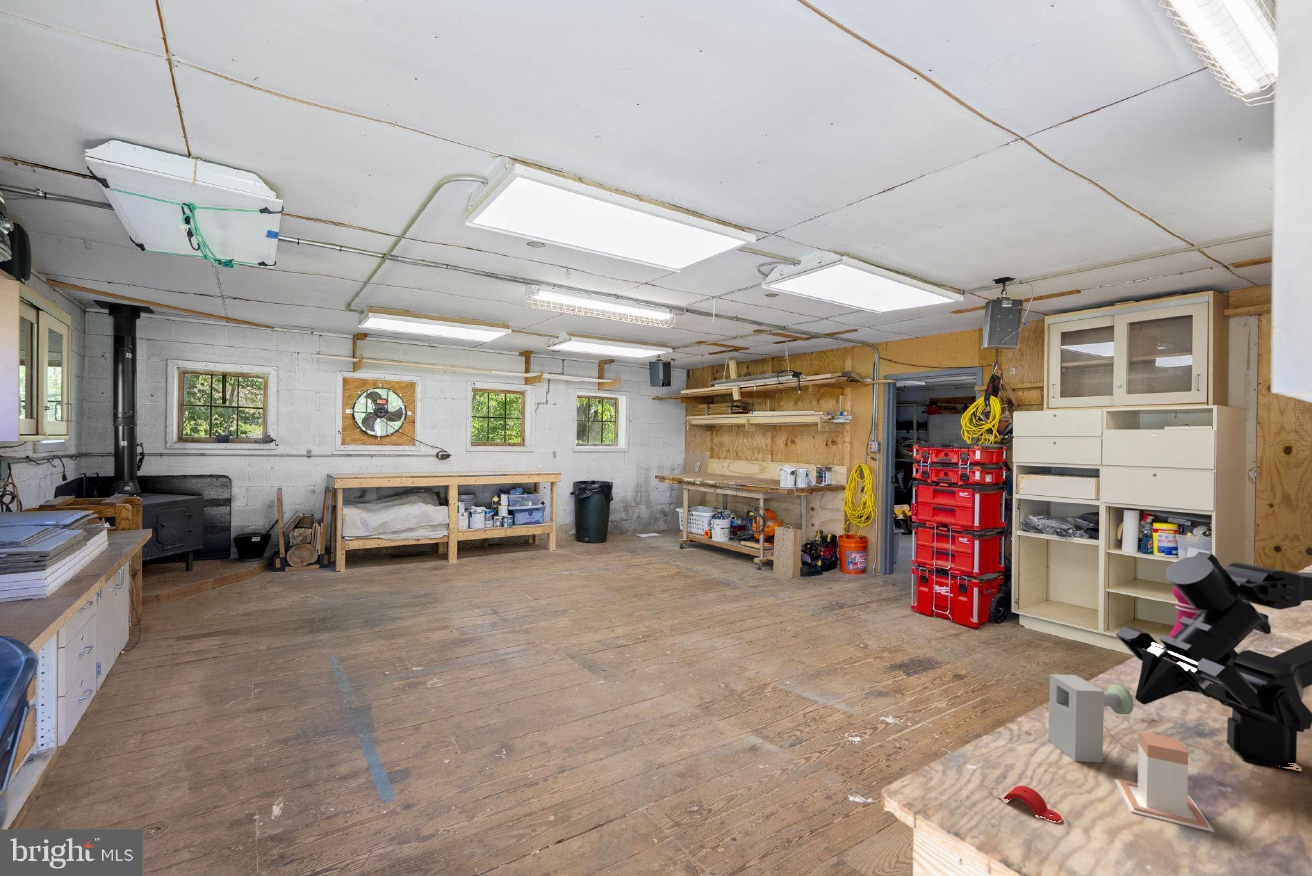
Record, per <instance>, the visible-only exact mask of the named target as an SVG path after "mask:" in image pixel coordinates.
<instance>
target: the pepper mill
mask: <svg viewBox="0 0 1312 876" xmlns="http://www.w3.org/2000/svg"><path fill="white" fill-rule="evenodd" d="M1172 587H1173V588H1172V594H1173V596H1174V597H1175V598H1176V599H1177V600H1176V601H1175V604H1176V605H1175V609H1176V610H1177V619H1176V620H1177V621H1176V623H1175V625H1174V626H1173V628H1172V630H1171V632H1170V633H1169V636H1168V637H1171V638H1172V637H1173V636H1174V635H1175V634H1176V633H1177V632H1178V631H1179V630H1180V629H1181V628H1182V627H1183V625H1182V624H1181V623H1180V622H1179V620H1180V619H1181V618H1182V617H1186V618H1189V619H1192V618H1193V617H1194V616H1195V615H1196V614H1197V613H1198V612H1199V611H1200V609H1196V608H1194V607H1193V606H1191V605H1190V604H1189V602H1188V601H1187V600H1186V599H1185V598H1184V597H1183V596H1182V594H1181V593H1180V592H1179V591H1178V590H1177V589H1176V587H1175V586H1174V585H1173V586H1172ZM1173 659H1174V658H1173Z"/></svg>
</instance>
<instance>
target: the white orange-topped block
mask: <svg viewBox="0 0 1312 876" xmlns="http://www.w3.org/2000/svg"><path fill="white" fill-rule="evenodd" d="M1137 755H1138V757H1137V758H1138V759H1137V783H1138V793H1139V794H1140V796H1141V798H1142V800H1143V802H1144V803H1145V805H1146V807H1149V808H1153V809H1157V810H1161V811H1166V812H1170V813H1174V814H1178V815H1183V816H1187V795H1188V782H1189V778H1188V777H1189V776H1188V775H1189V752H1188V749H1186V748H1185V746H1184V745H1183V744H1182V742H1181V741H1180V740H1179V739H1178V738H1177V737H1170V736H1168V735H1167V736H1165V735H1162V734H1157V733H1151V732H1145V731H1138V754H1137Z"/></svg>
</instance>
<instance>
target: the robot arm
mask: <svg viewBox="0 0 1312 876" xmlns="http://www.w3.org/2000/svg"><path fill="white" fill-rule="evenodd" d="M1165 576H1166V578H1167V579H1168V580H1169V582H1170V583H1171V584H1172V585H1173V587H1174V586H1175V587H1176V589H1177V590H1178V591H1179V592H1180V593H1181V594H1182V596H1183V597H1184V598H1185V599H1186V600H1187V601H1188V602H1189V604H1190V605H1191V606H1193V607H1194V608H1196V609H1200V611H1199V612H1198V613H1197V614H1196V615H1195V616H1194V617H1193V618H1192V619H1189V618H1186V617H1182V618H1181V619H1180V620H1179V622H1180V623H1181V624H1182V625H1183V627H1182V628H1181V629H1180V630H1179V631H1178V632H1177V633H1176V634H1175V635H1174V636H1173V637H1172V638H1171V637H1169V636H1168V635H1166V634H1163V635H1161V636H1160V637H1159V639H1158V640H1159V641H1160V642H1161V643H1162V644H1163V645H1160V644H1159V642H1158V641H1157V640H1155V638H1154V637H1152V635H1150V633H1149V632H1146V631H1144V630H1141V629H1139V628H1136V627H1134V626H1123V627H1122V628H1121V629H1120V630H1118V632H1117V633H1115V636H1116V638H1118V639H1119V640H1120V641H1121V643H1122V645H1124V646H1125V647H1126V648H1127V649H1128V650H1129V651H1130V652H1131V654H1132V655H1134V656H1135V657H1136V659H1138V660H1139V661H1140V662H1141V668H1140V674H1139V679H1138V683H1137V688H1136V692H1135V695H1134V697H1135V700H1136V701H1137V702H1138V703H1139V704H1142V705H1148V704H1150V703H1154V702H1155V701H1158V700H1160V699H1163V698H1167V697H1169V696H1171V695H1174V694H1179V693H1182V692H1193V693H1199V694H1201V695H1203V696H1204V697H1207V698H1211V699H1213V700H1215V701H1218V702H1220V704H1221V705H1222V706H1225V707H1229V708H1231V710H1232V711H1231V717H1230V716H1229V717H1227V722H1226V723H1227V728H1226V729H1227V730H1226V732H1227V733H1226V744H1227V745H1228V746H1229V747H1230V748H1231V749H1232V750H1233V751H1234V752H1235V753H1236V754H1237V755H1238V757H1239V758H1241V760H1243V761H1245V762H1248V763H1255V764H1259V765H1265V766H1267V767H1268V766H1269V767H1274V768H1278V767H1279V766H1280V767H1293V766H1290V765H1292V764H1288V763H1297V751H1298V750H1297V748H1298V747H1297V746H1298V733H1305V730H1311V727H1312V711H1311V710H1310V709H1309V708H1308V707H1307V706H1306V705H1305V704H1304V702H1303V694H1304V689H1306V688H1308V687H1310V686H1312V639H1310V640H1308V641H1306V642H1303V643H1301V644H1299V645H1296V646H1294V647H1293V648H1290V649H1288V650H1285V651H1283V652H1280V653H1279V654H1276V655H1274V656H1269V655H1266V654H1263V653H1261V652H1260V653H1259V652H1257V651H1254V650H1250V649H1246V650H1241V652H1239V653H1238V652H1237V651H1236V650H1235V648H1236V647H1237V646H1239V644H1241V642H1242V641H1244V640H1245V639H1246V638H1247V637H1248V636H1249V635H1250V634H1251V633H1253V631H1256V632H1257V631H1258V632H1260V633H1263V634H1266V635H1270V634H1271V633H1272V627H1271V625H1270V622H1269V615H1267V614H1265V613H1264V612H1263V613H1262V612H1259V611H1258V610H1257V609H1256V608H1255V606H1254V605H1256V606H1257V605H1258V606H1262V607H1266V608H1271V609H1275V610H1285V609H1291V608H1296V607H1299V606H1301V605H1302V603H1303V602H1306V601H1312V572H1310V571H1309V572H1307V571H1306V572H1302V571H1292V572H1291V571H1285V570H1280V569H1275V568H1269V567H1265V566H1258V565H1255V564H1254V565H1253V564H1248V563H1243V562H1232V563H1230V564H1229V565H1228V566H1227V568H1224V567H1223V566H1222V565H1221V563H1220V562H1219V560H1218V559H1217V557H1216V556H1215V555H1214V554H1213V553H1210V552H1202V551H1198V552H1197V553H1196V554H1195V555H1194V556H1189V557H1188V556H1187V557H1184V558H1181V559H1178V560H1176V562H1172V563H1170V564H1169V566H1168V567H1167V568H1166V572H1165ZM1253 604H1254V605H1253ZM1173 658H1174V659H1173ZM1293 765H1294V764H1293ZM1275 766H1276V767H1275ZM1299 767H1301V766H1300V765H1299ZM1296 769H1299V768H1296Z"/></svg>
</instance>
